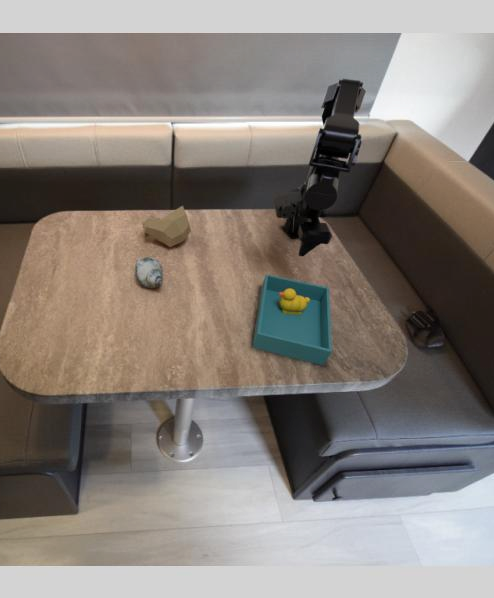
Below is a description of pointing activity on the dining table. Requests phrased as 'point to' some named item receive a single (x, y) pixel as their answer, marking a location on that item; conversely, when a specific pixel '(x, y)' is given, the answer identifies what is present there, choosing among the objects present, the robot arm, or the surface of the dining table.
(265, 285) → the teal tray
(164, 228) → the tan rock
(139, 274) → the seashell
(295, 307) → the duck
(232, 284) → the dining table surface
